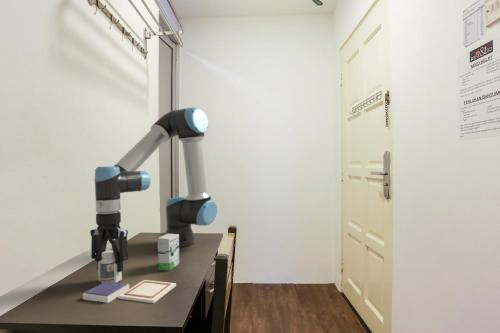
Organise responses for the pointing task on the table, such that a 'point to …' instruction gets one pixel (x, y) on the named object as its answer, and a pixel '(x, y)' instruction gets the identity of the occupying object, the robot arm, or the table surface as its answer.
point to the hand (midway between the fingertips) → (110, 280)
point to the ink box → (168, 251)
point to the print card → (147, 291)
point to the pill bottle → (107, 266)
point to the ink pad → (105, 291)
